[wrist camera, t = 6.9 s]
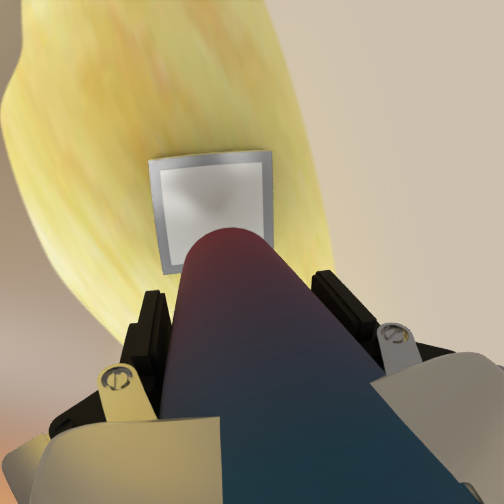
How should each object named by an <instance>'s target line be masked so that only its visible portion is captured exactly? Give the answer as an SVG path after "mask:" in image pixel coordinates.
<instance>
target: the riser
mask: <svg viewBox="0 0 504 504" xmlns="http://www.w3.org/2000/svg"><path fill="white" fill-rule="evenodd" d="M148 164H149V175H150V185H151V194H152V202H153V210H154V218H155V226H156V233H157V239H158V246H159V252H160V258H161V264H162V270H163V275H168V274H177V273H182V269H183V264H184V261H185V258H186V255H187V253H188V252H189V250H190V248H191V247H192V246H193V245H194V244H195V243H196V241H197V240H199V239H200V238H201V237H203V236H204V235H205V234H208V233H210V232H212V231H214V230H217V229H221V228H230V227H236V228H243V229H246V230H249V231H252V232H254V233H256V234H257V235H259V236H261V237H262V238H263V239H264V240H265V241H266V242H267V243H268V244H269V245H270V246H271V247H272V248H273V249H274V239H273V174H272V151H269V150H263V149H256V150H235V151H219V152H206V153H194V154H184V155H175V156H166V157H158V158H153V159H151V160H149V161H148Z"/></svg>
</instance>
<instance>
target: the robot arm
mask: <svg viewBox="0 0 504 504" xmlns="http://www.w3.org/2000/svg"><path fill="white" fill-rule="evenodd" d="M311 291H312V292H313V293H314V294H315V295H316V296H317V297H318V298H319V300H320V301H321V302H322V303H323V304H324V305H325V306H326V307H327V308H328V310H329V311H330V312H331V313H332V314H333V315H334V316H335V317H336V318H337V319H338V321H339V322H340V323H341V324H342V325H343V326H344V327H345V328H346V329H347V331H348V332H349V333H350V334H351V335H352V336H353V337H354V338H355V340H356V341H357V342H358V343H359V344H360V345H361V346H362V347H363V349H364V350H365V351H366V352H367V353H368V354H369V355H370V356H371V358H372V359H373V360H374V361H375V362H376V363H377V364H378V365H379V367H380V368H381V369H382V370H383V371H384V372H385V373H386V376H383V377H381V378H379V379H377V380H375V381H373V382H371V383H370V384H371V385H372V387H373V388H374V389H375V390H376V391H377V392H378V393H379V395H380V396H381V397H382V398H383V399H384V400H385V401H386V403H387V404H388V405H389V406H390V407H391V408H392V409H393V411H394V412H395V413H396V414H397V415H398V416H399V418H400V419H401V420H402V421H403V422H404V423H405V424H406V425H407V426H408V427H409V428H410V430H411V431H412V432H413V433H414V434H415V435H416V436H417V437H418V438H419V439H420V440H421V441H422V443H423V444H424V445H425V446H426V447H427V448H428V449H429V450H430V451H431V452H432V453H433V454H434V455H435V457H436V458H437V459H438V460H439V461H440V462H441V463H442V464H443V465H444V466H445V467H446V468H447V469H448V470H449V471H450V472H451V473H452V475H453V476H454V477H455V478H456V480H457V481H458V482H459V483H462V484H464V485H465V486H466V487H467V488H468V489H469V491H470V492H471V493H472V494H473V495H474V497H475V498H476V499H477V500H478V501H479V502H480V504H504V367H503V366H500V365H496V364H495V363H493V362H492V361H491V360H489V359H488V358H487V357H485V356H483V355H482V354H479V353H474V352H461V353H456V352H454V351H451V350H447V349H443V348H439V347H434V346H430V345H426V344H422V343H417V342H415V340H414V337H413V335H412V333H411V331H410V330H409V329H408V328H407V327H405V326H403V325H401V324H398V323H385V324H382V325H380V324H379V323H378V322H377V319H376V318H375V317H374V316H373V315H372V314H371V313H370V312H369V311H368V310H367V308H366V307H365V306H364V305H363V304H362V303H361V302H360V301H359V300H358V299H357V298H356V297H355V296H354V295H353V294H352V292H351V291H350V290H349V289H348V288H347V287H346V286H345V285H344V284H343V283H342V282H341V281H340V280H339V279H338V278H337V277H336V276H335V275H334V274H333V273H332V272H331V271H330V270H324V271H317V272H316V275H313V276H312V284H311ZM171 328H172V325H171V320H170V316H169V311H168V306H167V302H166V297H165V293H160V291H159V290H153V291H146V292H145V295H144V299H143V303H142V307H141V311H140V316H139V320H138V323H131V324H129V327H128V331H127V335H126V338H125V342H124V346H123V350H122V355H121V359H120V363H118V364H113V365H110V366H108V367H106V368H105V369H104V370H102V371H101V373H100V374H99V375H98V378H97V386H98V390H97V391H96V392H94V393H93V394H91V395H90V396H88V397H87V398H85V399H84V400H83V401H81V402H79V403H78V404H76V405H75V406H73V407H72V408H70V409H69V410H67V411H65V412H64V413H62V414H61V415H59V416H58V417H56V418H55V419H54V420H53V421H52V423H51V424H50V427H49V433H48V434H46V435H44V434H43V433H41V434H40V435H38V436H36V437H35V438H33V439H32V440H30V441H28V442H26V443H25V444H23V445H22V446H20V447H18V448H17V449H15V450H13V451H12V452H10V453H8V454H7V455H6V456H5V457H4V459H3V461H2V471H3V473H4V476H5V478H6V480H7V482H8V484H9V486H10V489H11V491H12V493H13V494H14V497H15V498H16V500H17V502H18V504H223V497H222V466H221V446H220V417H186V418H173V419H159V412H160V404H161V396H162V388H163V380H164V373H165V366H166V359H167V353H168V346H169V340H170V334H171Z"/></svg>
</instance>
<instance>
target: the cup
mask: <svg viewBox="0 0 504 504" xmlns="http://www.w3.org/2000/svg"><path fill="white" fill-rule="evenodd" d="M383 376H386V373H385V372H384V371H383V370H382V369H381V368H380V367H379V365H378V364H377V363H376V362H375V361H374V360H373V359H372V358H371V356H370V355H369V354H368V353H367V352H366V351H365V350H364V349H363V347H362V346H361V345H360V344H359V343H358V342H357V341H356V340H355V338H354V337H353V336H352V335H351V334H350V333H349V332H348V331H347V329H346V328H345V327H344V326H343V325H342V324H341V323H340V322H339V321H338V319H337V318H336V317H335V316H334V315H333V314H332V313H331V312H330V311H329V310H328V308H327V307H326V306H325V305H324V304H323V303H322V302H321V301H320V300H319V298H318V297H317V296H316V295H315V294H314V293H313V292H312V291H311V290H310V289H309V288H308V286H307V285H306V284H305V283H304V282H303V281H302V280H301V279H300V278H299V277H298V275H297V274H296V273H295V272H294V271H293V270H292V269H291V268H290V267H289V266H288V265H287V264H286V262H285V261H284V260H283V259H282V258H281V257H280V256H279V255H278V254H277V253H276V252H275V251H274V249H273V248H272V247H271V246H270V245H269V244H268V243H267V242H266V241H265V240H264V239H263V238H262V237H261V236H259V235H257V234H256V233H254V232H252V231H249V230H246V229H243V228H236V227H230V228H221V229H217V230H214V231H212V232H210V233H208V234H205V235H204V236H203V237H201V238H200V239H199V240H197V241H196V243H195V244H194V245H193V246H192V247H191V248H190V250H189V252H188V253H187V255H186V258H185V261H184V264H183V269H182V274H181V279H180V284H179V289H178V295H177V300H176V305H175V311H174V316H173V322H172V328H171V334H170V340H169V346H168V353H167V359H166V366H165V373H164V380H163V388H162V396H161V404H160V412H159V419H173V418H186V417H220V446H221V466H222V497H223V504H480V502H479V501H478V500H477V499H476V498H475V497H474V495H473V494H472V493H471V492H470V491H469V489H468V488H467V487H466V486H465V485H464V484H462V483H459V482H458V481H457V480H456V478H455V477H454V476H453V475H452V473H451V472H450V471H449V470H448V469H447V468H446V467H445V466H444V465H443V464H442V463H441V462H440V461H439V460H438V459H437V458H436V457H435V455H434V454H433V453H432V452H431V451H430V450H429V449H428V448H427V447H426V446H425V445H424V444H423V443H422V441H421V440H420V439H419V438H418V437H417V436H416V435H415V434H414V433H413V432H412V431H411V430H410V428H409V427H408V426H407V425H406V424H405V423H404V422H403V421H402V420H401V419H400V418H399V416H398V415H397V414H396V413H395V412H394V411H393V409H392V408H391V407H390V406H389V405H388V404H387V403H386V401H385V400H384V399H383V398H382V397H381V396H380V395H379V393H378V392H377V391H376V390H375V389H374V388H373V387H372V385H371V384H370V383H371V382H373V381H375V380H377V379H379V378H381V377H383Z"/></svg>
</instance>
